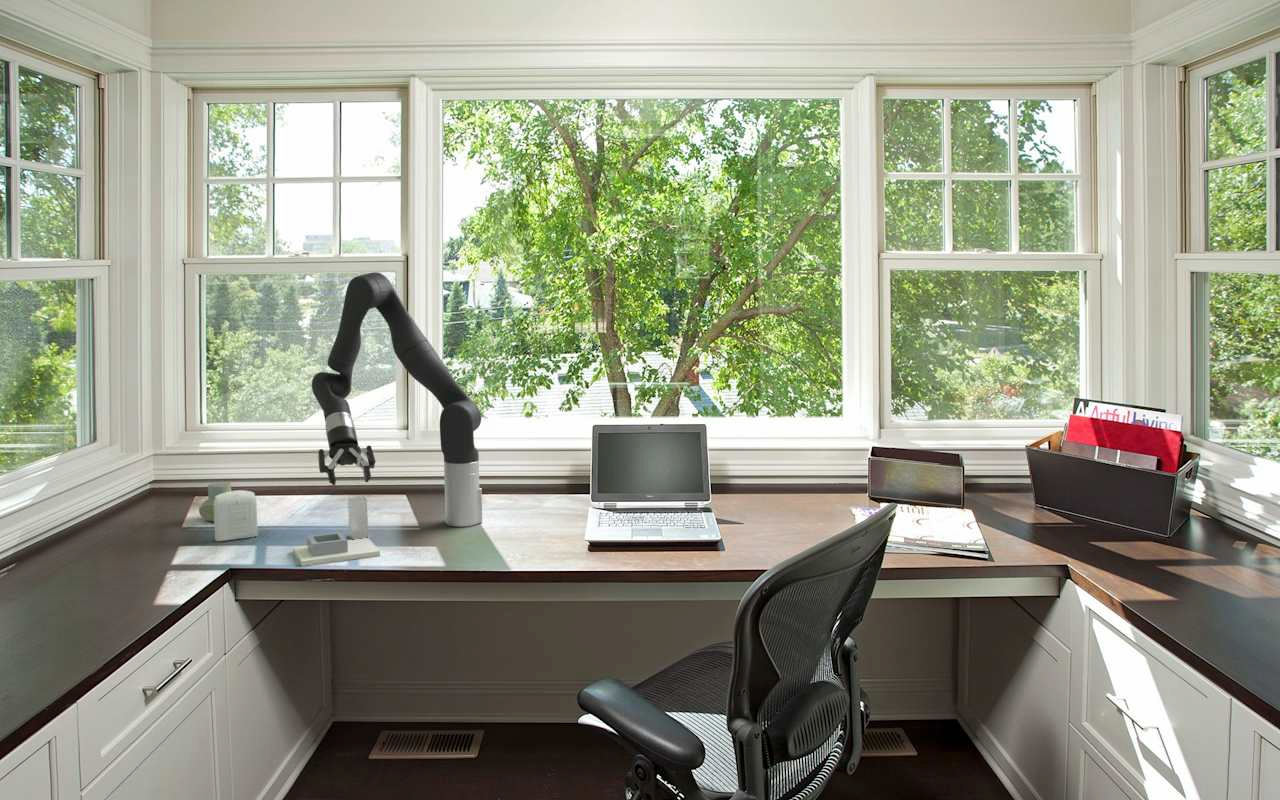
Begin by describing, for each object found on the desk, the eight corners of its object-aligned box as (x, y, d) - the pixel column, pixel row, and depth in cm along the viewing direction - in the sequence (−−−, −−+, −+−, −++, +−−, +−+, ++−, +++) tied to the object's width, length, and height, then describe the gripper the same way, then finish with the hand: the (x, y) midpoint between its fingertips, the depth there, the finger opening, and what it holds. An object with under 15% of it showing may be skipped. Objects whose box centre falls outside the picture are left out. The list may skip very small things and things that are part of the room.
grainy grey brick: (365, 533, 252) (363, 496, 251) (368, 537, 249) (366, 499, 247) (349, 535, 250) (347, 498, 249) (352, 539, 247) (350, 501, 245)
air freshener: (194, 522, 264) (191, 486, 262) (214, 514, 272) (212, 479, 270) (228, 524, 261) (226, 488, 260) (248, 517, 269) (246, 482, 268)
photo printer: (256, 533, 252) (253, 487, 251) (259, 537, 249) (257, 490, 247) (213, 539, 247) (211, 491, 245) (217, 543, 243) (214, 495, 242)
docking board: (368, 542, 244) (367, 526, 244) (379, 555, 233) (379, 538, 232) (293, 551, 236) (292, 535, 235) (301, 566, 224) (300, 548, 224)
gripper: (315, 426, 257) (324, 476, 248) (369, 422, 264) (380, 471, 255) (312, 442, 262) (321, 492, 254) (365, 438, 269) (376, 487, 260)
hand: (350, 482), depth 254 cm, fingers open, 8 cm apart
